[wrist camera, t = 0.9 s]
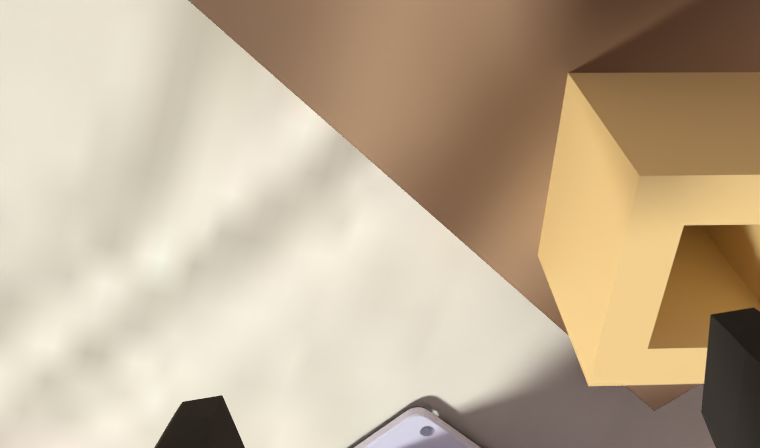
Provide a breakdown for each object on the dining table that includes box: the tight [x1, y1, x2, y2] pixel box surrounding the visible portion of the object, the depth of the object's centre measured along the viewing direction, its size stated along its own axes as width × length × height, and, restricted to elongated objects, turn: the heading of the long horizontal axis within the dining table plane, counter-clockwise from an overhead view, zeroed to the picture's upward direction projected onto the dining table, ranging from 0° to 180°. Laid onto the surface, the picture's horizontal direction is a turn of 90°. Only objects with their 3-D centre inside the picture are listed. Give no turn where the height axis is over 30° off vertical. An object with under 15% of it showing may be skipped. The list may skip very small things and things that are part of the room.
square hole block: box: [538, 72, 760, 386], centre depth 17 cm, size 5×5×5 cm
